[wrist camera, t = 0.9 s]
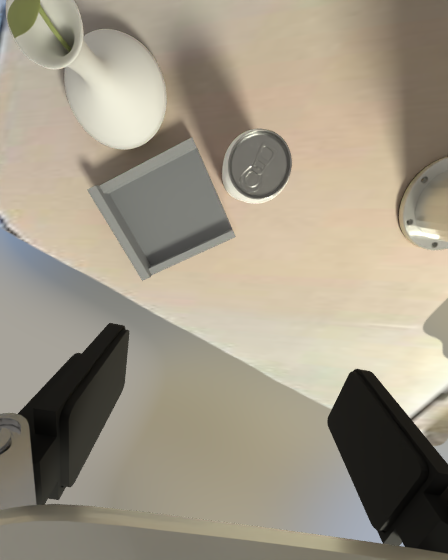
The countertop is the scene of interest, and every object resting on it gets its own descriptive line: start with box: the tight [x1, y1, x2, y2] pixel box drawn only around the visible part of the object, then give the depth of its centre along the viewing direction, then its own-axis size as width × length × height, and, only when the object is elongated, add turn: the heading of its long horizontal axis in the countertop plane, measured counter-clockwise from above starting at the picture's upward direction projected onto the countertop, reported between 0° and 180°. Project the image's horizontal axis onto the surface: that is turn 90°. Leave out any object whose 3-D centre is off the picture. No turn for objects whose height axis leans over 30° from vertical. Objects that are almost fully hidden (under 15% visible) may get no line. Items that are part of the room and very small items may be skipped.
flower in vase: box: [6, 0, 167, 150], centre depth 17 cm, size 13×11×25 cm
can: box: [222, 129, 292, 204], centre depth 27 cm, size 6×6×12 cm
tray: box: [88, 137, 235, 281], centre depth 32 cm, size 14×13×4 cm
